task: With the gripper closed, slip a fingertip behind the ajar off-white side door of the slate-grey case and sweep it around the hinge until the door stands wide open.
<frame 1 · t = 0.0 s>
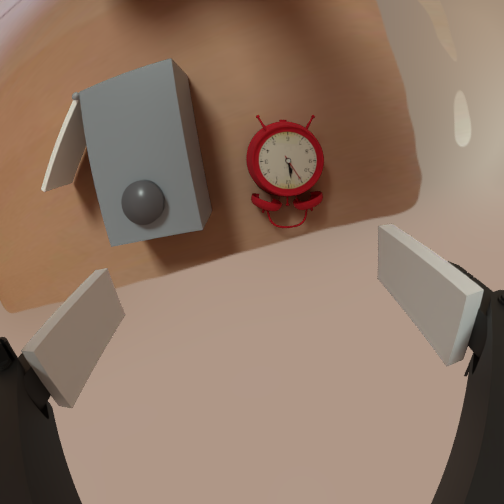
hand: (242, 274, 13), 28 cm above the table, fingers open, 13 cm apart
alarm clock: (284, 170, 39), on the table
door: (69, 140, 31), point 5 cm above the table, hinge at 40.0°
case: (157, 151, 37), on the table
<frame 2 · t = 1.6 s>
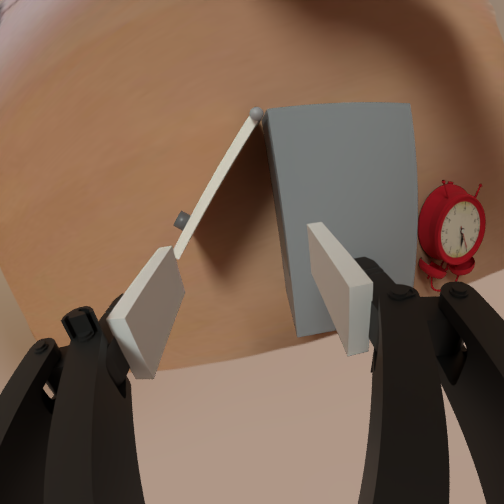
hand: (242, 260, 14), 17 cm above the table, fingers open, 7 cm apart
alarm clock: (443, 233, 32), on the table
door: (212, 176, 25), point 5 cm above the table, hinge at 40.0°
case: (329, 203, 31), on the table
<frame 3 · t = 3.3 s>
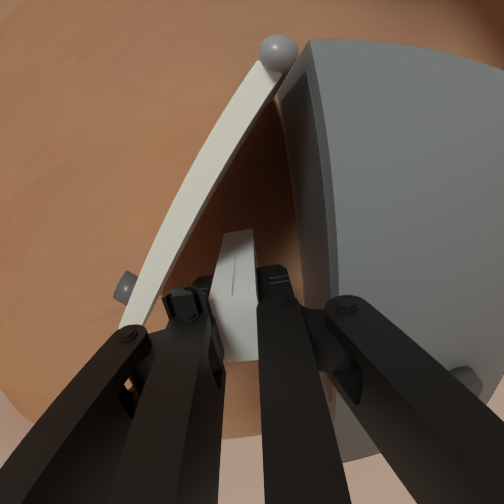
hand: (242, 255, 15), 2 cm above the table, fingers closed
door: (178, 207, 12), point 5 cm above the table, hinge at 40.0°
case: (387, 243, 17), on the table
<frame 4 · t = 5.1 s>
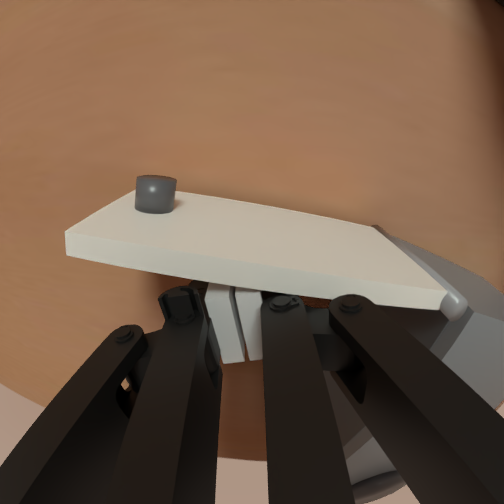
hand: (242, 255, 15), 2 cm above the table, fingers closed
door: (279, 225, 11), point 5 cm above the table, hinge at 82.2°, touching gripper
case: (379, 363, 21), on the table
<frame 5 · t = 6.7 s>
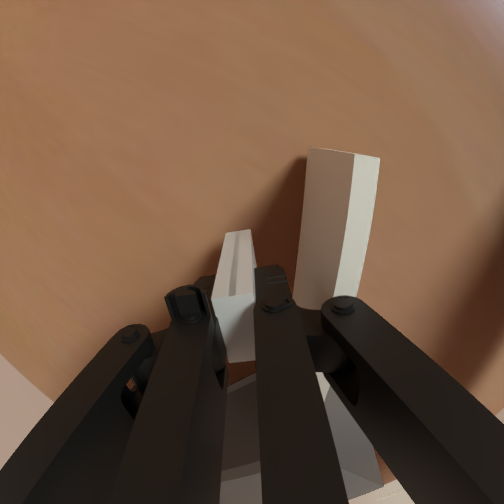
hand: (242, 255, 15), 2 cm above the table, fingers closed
door: (325, 303, 13), point 5 cm above the table, hinge at 132.0°, touching gripper
case: (245, 427, 24), on the table
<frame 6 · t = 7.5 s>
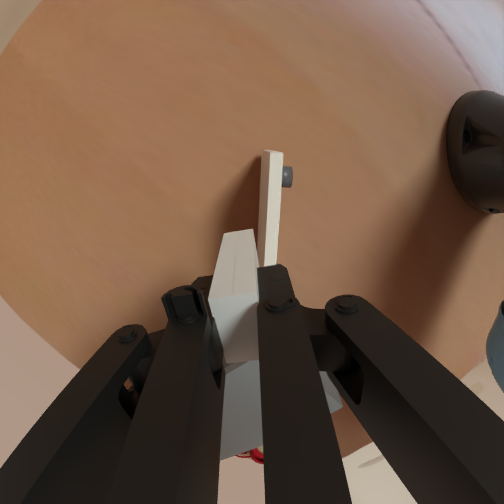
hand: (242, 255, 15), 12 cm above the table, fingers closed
door: (273, 240, 23), point 5 cm above the table, hinge at 131.4°
case: (230, 366, 33), on the table
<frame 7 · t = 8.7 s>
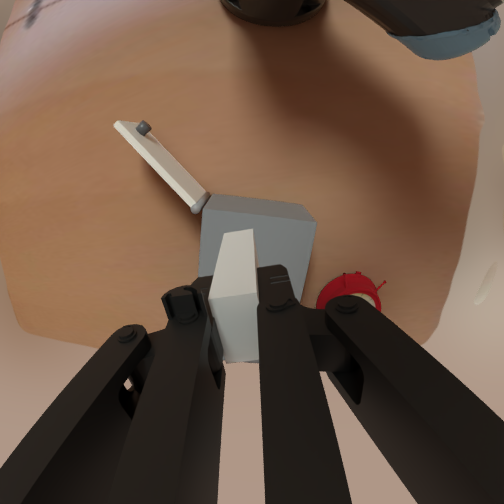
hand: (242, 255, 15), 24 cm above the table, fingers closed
alarm clock: (342, 309, 45), on the table
door: (167, 159, 31), point 5 cm above the table, hinge at 131.4°
case: (248, 267, 41), on the table
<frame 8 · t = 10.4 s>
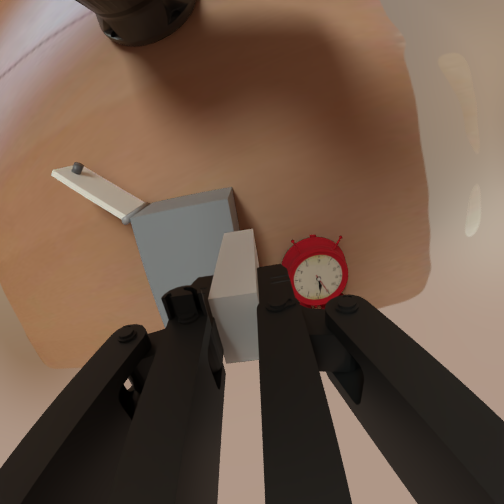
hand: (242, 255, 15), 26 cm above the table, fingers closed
alarm clock: (313, 276, 45), on the table
door: (101, 186, 35), point 5 cm above the table, hinge at 131.4°
case: (205, 258, 44), on the table
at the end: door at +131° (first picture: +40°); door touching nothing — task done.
